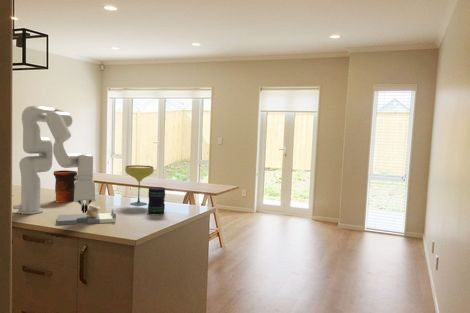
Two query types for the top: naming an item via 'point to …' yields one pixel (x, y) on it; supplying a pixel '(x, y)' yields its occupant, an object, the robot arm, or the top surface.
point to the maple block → (92, 211)
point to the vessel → (65, 185)
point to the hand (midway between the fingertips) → (84, 212)
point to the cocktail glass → (139, 177)
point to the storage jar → (156, 200)
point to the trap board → (86, 218)
